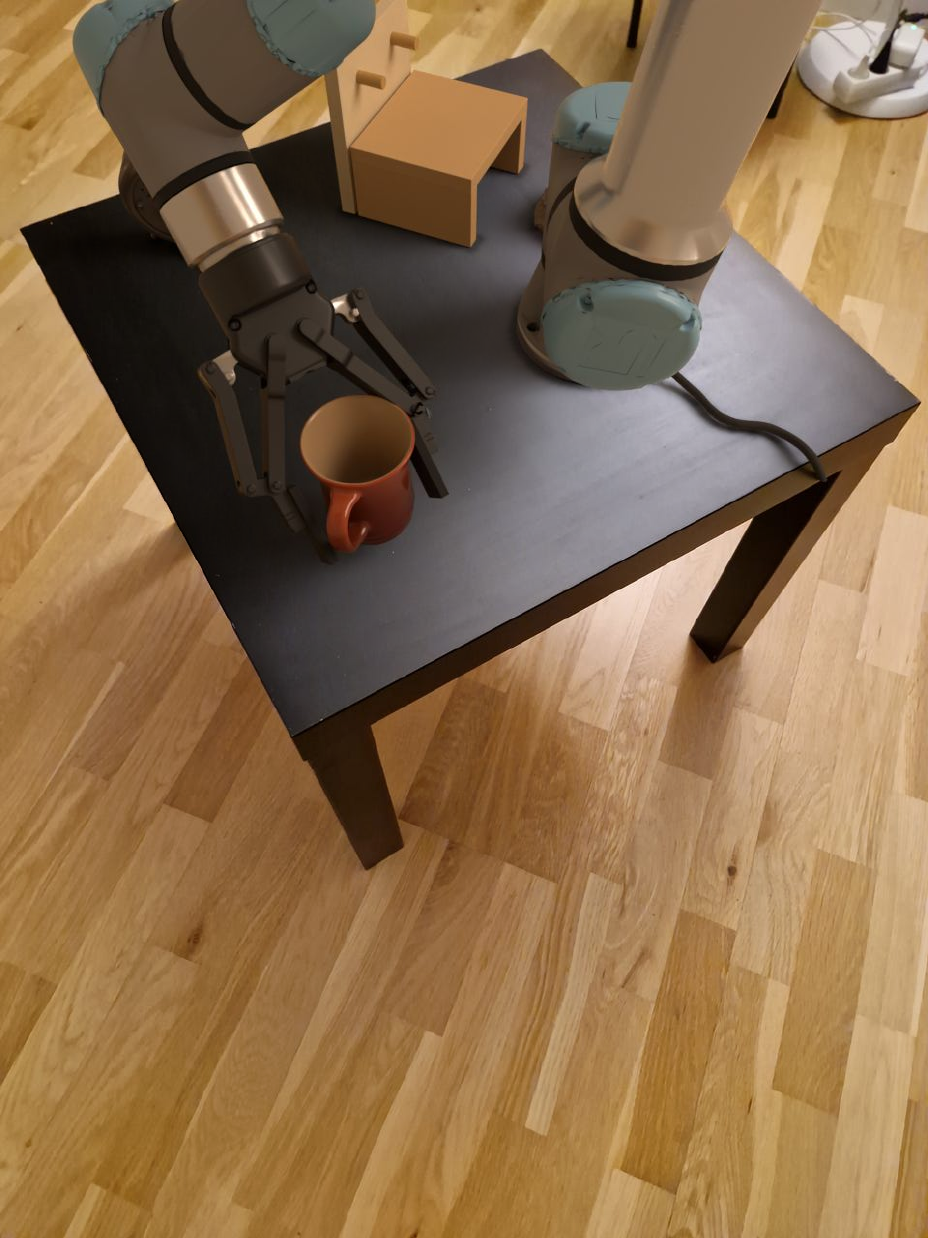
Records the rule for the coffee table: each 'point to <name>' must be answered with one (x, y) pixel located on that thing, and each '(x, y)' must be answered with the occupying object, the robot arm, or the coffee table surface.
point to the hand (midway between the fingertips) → (386, 527)
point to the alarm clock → (140, 201)
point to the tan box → (416, 135)
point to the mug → (361, 468)
